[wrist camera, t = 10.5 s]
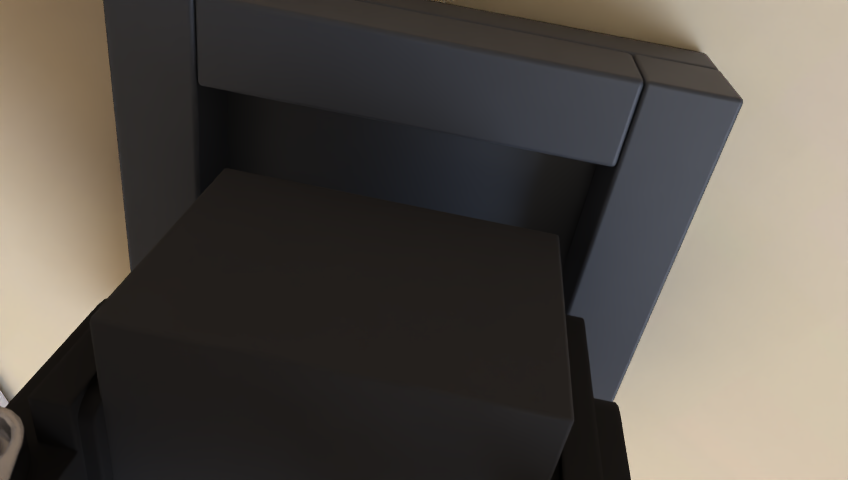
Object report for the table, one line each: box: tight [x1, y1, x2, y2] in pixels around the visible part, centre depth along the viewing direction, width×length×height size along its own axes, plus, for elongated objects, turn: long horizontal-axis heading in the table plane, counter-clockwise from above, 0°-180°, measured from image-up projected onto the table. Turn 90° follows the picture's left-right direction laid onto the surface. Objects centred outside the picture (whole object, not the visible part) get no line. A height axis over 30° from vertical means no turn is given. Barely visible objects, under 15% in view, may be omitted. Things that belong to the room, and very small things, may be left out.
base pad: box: [103, 0, 743, 402], centre depth 14 cm, size 10×10×2 cm
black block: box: [89, 168, 574, 480], centre depth 10 cm, size 6×6×4 cm
